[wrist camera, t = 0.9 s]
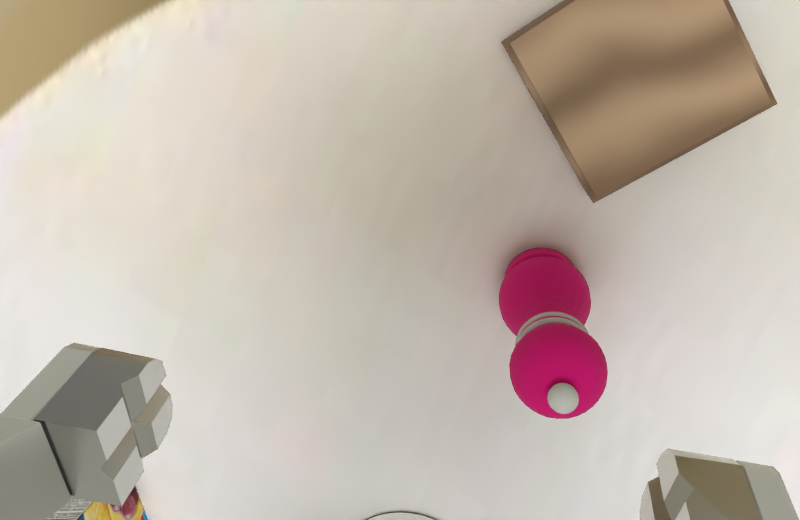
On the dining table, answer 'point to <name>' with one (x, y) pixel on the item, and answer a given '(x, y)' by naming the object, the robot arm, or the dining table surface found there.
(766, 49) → the dining table surface
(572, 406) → the pepper mill
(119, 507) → the juice carton
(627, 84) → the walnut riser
